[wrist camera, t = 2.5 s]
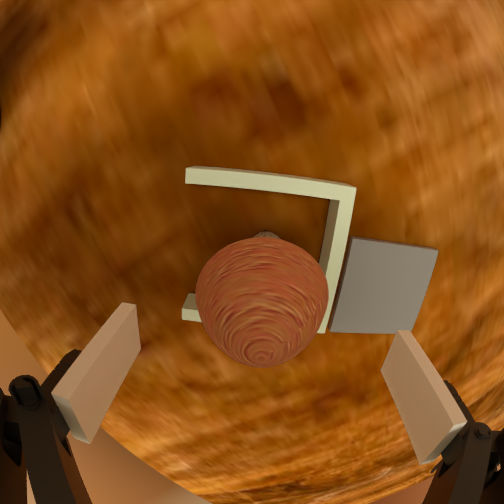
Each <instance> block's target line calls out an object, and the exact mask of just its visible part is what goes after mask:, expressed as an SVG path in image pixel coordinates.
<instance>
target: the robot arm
mask: <svg viewBox="0 0 504 504" xmlns="http://www.w3.org/2000/svg"><path fill="white" fill-rule="evenodd" d="M140 350H141V345H140V338H139V329H138V320H137V310H136V305H135V304H129V303H124V302H122V303H121V304H120V306H119V307H118V308H117V309H116V310H115V311H114V313H113V314H112V315H111V316H110V317H109V319H108V320H107V321H106V322H105V324H104V325H103V326H102V327H101V328H100V330H99V331H98V332H97V333H96V335H95V336H94V337H93V338H92V340H91V341H90V342H89V343H88V345H87V346H86V347H85V348H84V350H83V351H80V350H76V349H74V350H72V351H71V352H69V353H67V354H66V355H65V356H64V357H63V358H62V360H61V361H60V363H59V364H58V365H57V366H56V367H55V370H53V371H52V372H51V373H50V375H49V376H48V377H47V379H46V380H45V381H44V382H43V384H42V385H41V386H40V385H39V383H38V381H37V380H36V379H35V378H34V377H33V376H30V375H21V376H19V377H16V378H15V379H13V380H12V382H11V383H10V385H9V392H10V394H11V396H7V395H4V393H3V391H2V389H1V388H0V504H27V483H26V482H27V480H26V477H27V471H28V475H29V480H30V484H31V487H32V491H33V494H34V498H35V501H36V504H92V502H91V499H90V497H89V495H88V493H87V490H86V488H85V485H84V483H83V480H82V478H81V476H80V473H79V470H78V467H77V465H76V462H75V459H74V456H73V453H72V450H71V447H70V444H69V441H68V439H67V437H66V436H67V434H68V432H69V431H71V433H72V435H73V436H74V438H76V439H78V440H81V441H83V442H86V443H89V444H91V442H92V440H93V438H94V436H95V434H96V432H97V430H98V428H99V426H100V424H101V422H102V420H103V418H104V416H105V414H106V412H107V410H108V409H109V407H110V405H111V403H112V401H113V399H114V397H115V395H116V393H117V391H118V390H119V388H120V386H121V384H122V382H123V380H124V378H125V377H126V375H127V373H128V371H129V369H130V367H131V366H132V364H133V362H134V360H135V358H136V357H137V355H138V353H139V351H140ZM381 372H382V375H383V377H384V379H385V381H386V384H387V386H388V388H389V390H390V393H391V395H392V397H393V400H394V402H395V404H396V407H397V409H398V411H399V414H400V416H401V418H402V421H403V423H404V426H405V428H406V431H407V433H408V436H409V438H410V441H411V443H412V446H413V448H414V451H415V454H416V456H417V459H418V462H419V464H420V465H422V464H426V463H429V462H433V461H434V460H435V459H436V458H437V457H438V456H439V455H440V454H441V455H442V457H443V459H442V460H441V461H440V462H439V463H438V464H437V465H436V466H435V467H434V468H433V469H432V471H431V472H430V473H433V472H434V471H435V470H436V469H437V470H436V473H435V475H434V478H433V480H432V483H431V485H430V488H429V490H428V492H427V495H426V497H425V499H424V501H423V503H422V504H504V428H503V429H502V430H501V431H491V429H490V428H489V427H488V426H487V425H486V424H484V423H481V422H477V423H476V422H475V421H474V419H473V417H472V415H471V414H470V412H469V410H468V409H467V407H466V405H465V404H464V402H462V399H461V397H460V396H458V393H457V391H456V389H455V388H454V386H452V385H451V384H450V383H449V382H448V381H447V380H444V381H443V380H442V378H441V377H440V375H439V374H438V372H437V371H436V369H435V368H434V366H433V365H432V363H431V361H430V360H429V358H428V357H427V355H426V354H425V352H424V351H423V349H422V348H421V347H420V345H419V344H418V342H417V341H416V339H415V338H414V336H413V335H412V334H411V332H410V331H409V330H397V332H396V335H395V338H394V340H393V343H392V345H391V347H390V350H389V352H388V355H387V357H386V359H385V362H384V364H383V366H382V368H381ZM499 464H500V465H501V466H500V467H501V469H500V470H499V471H497V466H498V465H499Z"/></svg>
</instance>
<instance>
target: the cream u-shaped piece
mask: <svg viewBox="0 0 504 504" xmlns="http://www.w3.org/2000/svg"><path fill="white" fill-rule="evenodd" d="M185 183H188V184H201V185H214V186H225V187H236V188H246V189H255V190H265V191H273V192H282V193H290V194H298V195H305V196H313V197H320V198H327V199H330V204H329V210H328V216H327V222H326V228H325V233H324V239H323V245H322V250H321V255H320V260H319V265H320V267H321V269H322V270H323V272H324V274H325V277H326V279H327V284H328V289H329V300H328V305H327V309H326V312H325V315H324V318H323V321H322V323H321V326H320V328H319V330H318V331H317V333H325V330H326V326H327V323H328V319H329V315H330V311H331V308H332V304H333V300H334V296H335V292H336V288H337V283H338V279H339V275H340V270H341V266H342V261H343V257H344V252H345V247H346V242H347V237H348V232H349V227H350V222H351V217H352V211H353V205H354V199H355V193H356V187H353V186H351V185H349V184H346V183H341V182H335V181H329V180H322V179H315V178H309V177H301V176H294V175H286V174H278V173H270V172H261V171H252V170H242V169H231V168H219V167H206V166H192V167H188V168H186V177H185ZM182 319H183V320H190V321H197V322H202V321H201V319H200V316H199V313H198V309H197V305H196V299H195V294H194V293H189V294H188V296H187V298H186V300H185V303H184V305H183V307H182Z"/></svg>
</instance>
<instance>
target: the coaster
mask: <svg viewBox="0 0 504 504" xmlns="http://www.w3.org/2000/svg"><path fill="white" fill-rule="evenodd" d="M438 251H439V250H437V249H436V248H432V247H425V246H418V245H412V244H405V243H398V242H391V241H384V240H377V239H369V238H362V237H354V236H350V240H349V245H348V250H347V254H346V259H345V263H344V268H343V272H342V276H341V281H340V285H339V289H338V293H337V297H336V301H335V305H334V309H333V313H332V316H331V320H330V324H329V327H328V328H329V331H330V332H345V333H385V334H396V332H397V330H409V331H410V332H411V331H412V328H413V326H414V323H415V321H416V318H417V316H418V313H419V310H420V308H421V305H422V302H423V299H424V297H425V294H426V291H427V288H428V285H429V282H430V279H431V275H432V272H433V269H434V265H435V262H436V259H437V255H438Z"/></svg>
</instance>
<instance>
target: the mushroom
mask: <svg viewBox="0 0 504 504" xmlns="http://www.w3.org/2000/svg"><path fill="white" fill-rule="evenodd" d="M195 299H196V305H197V309H198V313H199V316H200V319H201V321H202V324H203V326H204V328H205V330H206V332H207V333H208V335H209V336H210V338H211V339H212V341H213V342H214V344H215V345H216V346H217V347H218V348H219V349H220V350H221V351H223V352H224V353H225V354H226V355H228V356H229V357H230V358H232V359H233V360H235V361H237V362H239V363H242V364H245V365H248V366H251V367H259V368H265V367H272V366H276V365H279V364H282V363H284V362H286V361H288V360H290V359H292V358H293V357H295V356H296V355H297V354H299V353H300V352H301V351H302V350H303V349H305V348H306V347H307V345H308V344H309V343H310V342H311V341H312V339H313V338H314V336H315V335H316V333H317V331H318V330H319V328H320V326H321V323H322V321H323V318H324V315H325V312H326V309H327V305H328V300H329V289H328V284H327V279H326V277H325V274H324V272H323V270H322V269H321V267H320V265H319V264H318V262H317V261H316V260H315V259H314V258H313V257H312V256H311V255H310V254H309V253H307V252H306V251H305V250H304V249H302V248H300V247H298V246H296V245H295V244H293V243H290V242H287V241H284V240H281V239H280V238H279V237H278V236H277V235H276V234H274V233H273V232H269V231H267V232H265V231H263V233H262V232H259V233H258V234H257V235H255V236H254V237H252V238H248V239H244V240H240V241H237V242H234V243H232V244H230V245H228V246H226V247H224V248H223V249H221V250H219V251H218V252H217V253H215V254H214V255H213V256H212V257H211V258H210V259H209V260H208V262H207V263H206V264H205V265H204V267H203V269H202V270H201V272H200V274H199V277H198V280H197V283H196V290H195Z"/></svg>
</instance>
